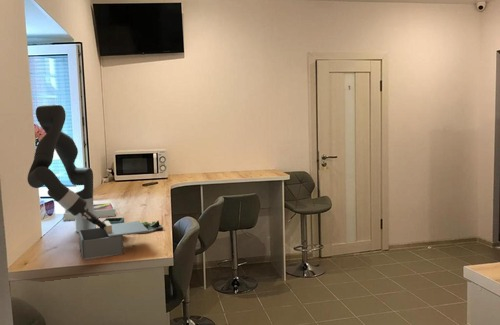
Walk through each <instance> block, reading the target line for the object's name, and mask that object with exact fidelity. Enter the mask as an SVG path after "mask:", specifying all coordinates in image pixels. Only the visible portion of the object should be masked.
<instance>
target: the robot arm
mask: <svg viewBox="0 0 500 325" xmlns="http://www.w3.org/2000/svg"><path fill="white" fill-rule="evenodd" d="M66 114H67V113H66V109H65V108H64V106H63V105H61V104H41V105H39V106H37V107H36V109H35V117H36V120H37V122H38V123H39V126H40V127H41V128H42V129H43V131H44V133H45V134H44V136H43V137H42V138H41V139H39V141H38V143H37V145H36V148H35V152H34V157H33V161H32V164H31V166H30V168H29V172H28V174H27V178H26V180H27V183H28V185H29V186H30V187H32V188H34V189H39V188H42V187H43V186H45V187H46V189H47V195H48V196H49V197H50V198H52V200H54V202H56V203H58V204H59V205H60V206H61V207H62V208H63V209H66V210H67V211H69V212H70V213H71V214H72V215H74V216H75V220H74V221H75V232H77V233H79V230H85V229H93V228H97V227H98V228H101V229H104V227H105V226H106V225H105V224H104V223H103V222H102V221H101V220H100V218H97V217H96V216H95V211H94V171H93V170H92V168H91V167H77V166H76V165H75V161H76V159H77V158H78V155H79V151H78V147H77V145H76V143H75V140H74V139H73V138H72V137H71V136H70V135H68V134H67V133H66V132H64V131H62V130H63V127H64V125H65V122H66V117H67V116H66ZM55 152H56V154H57V155H58V157H59V159H60V161H61V163H62V165H63V167H64V169H65V171H66V172H65V173H66V174H67V177H68V179H69V182H70V183H71V185H73V186H83V189H81V190H80V191H77V192H75V191H73V190H71V189H70V188H69V187H68V186H66V185H65V184H64V183H62V182H61V181H60V179H59V177H58V176H57V175H56V174H55V172H54V171H53V170H51V168H50V166H52V163H53V159H54V155H55Z"/></svg>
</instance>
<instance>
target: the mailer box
mask: <svg viewBox="0 0 500 325" xmlns="http://www.w3.org/2000/svg"><path fill="white" fill-rule="evenodd" d="M78 243H79V244H78V245H79V249H80V254H81V256H82V260H83V261H86V260H87V261H88V260H95V259H100V258H107V257H113V256H119V255H120V256H121V255H124V235H120V236H113V237H109V236H108V235H107V233H106V231H105V230H104V229H101V228H100V227H96V228H93V229H85V230H79V232H78Z"/></svg>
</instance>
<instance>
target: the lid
mask: <svg viewBox="0 0 500 325" xmlns="http://www.w3.org/2000/svg"><path fill="white" fill-rule="evenodd" d="M103 221H104V220H103ZM104 224H105V225H106V226H105V227H104V230H105V231H106V233H107V235H108V236H109V237H113V236H120V235H123V236H128V235H134V234H144V233H143V232H149V230H148V229H147V228H146V227H145V226H144V225H143V224H142V223H141V221H139V220H138V221H137V220H136V221H128V222H124V223H118V224H110V222H109V221H104ZM149 233H150V232H149Z"/></svg>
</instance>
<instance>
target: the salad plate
mask: <svg viewBox="0 0 500 325" xmlns="http://www.w3.org/2000/svg"><path fill="white" fill-rule="evenodd" d="M140 222H141V221H140ZM141 223H142V224H143V225H144V226H145V227H146V228H147V229H148V230H149V232H143V233H142V234H148V233H149V234H150V233H152V232H156V231H160V230H162V229H164V226H163V225H161V224H160V221H159V220H156V221H152V222H148V221H142V222H141Z"/></svg>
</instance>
